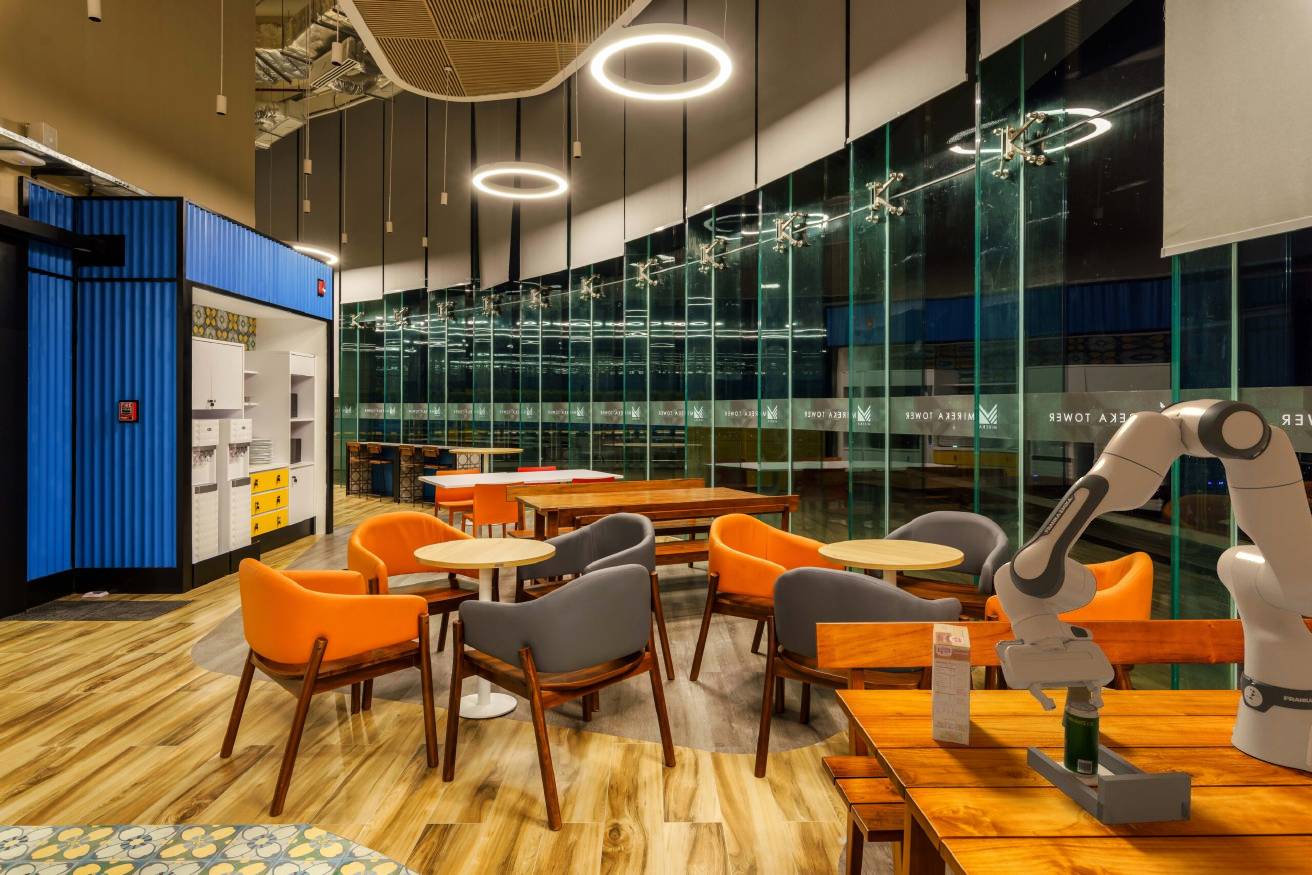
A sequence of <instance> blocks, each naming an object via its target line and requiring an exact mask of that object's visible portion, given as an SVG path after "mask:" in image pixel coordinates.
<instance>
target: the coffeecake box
mask: <svg viewBox="0 0 1312 875" xmlns="http://www.w3.org/2000/svg"><path fill="white" fill-rule="evenodd" d="M969 635H970V634H969V630H968V626H961V625H952V624H946V623H933V631H932V656H931V657H932V664H931V666H932V667H931V670H932V671H931V672H932V673H931V733H932V734H931V736H932V737H931V738H932V740H934V741H940V742H947V743H955V744H960V745H966V746H969V745H970V718H971V717H970V714H971V713H970V711H971V710H970V708H971V704H970V703H971V702H970V701H971V647H972V646H971V642H970V636H969Z"/></svg>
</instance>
